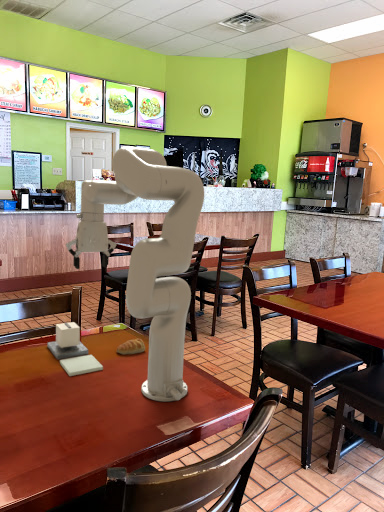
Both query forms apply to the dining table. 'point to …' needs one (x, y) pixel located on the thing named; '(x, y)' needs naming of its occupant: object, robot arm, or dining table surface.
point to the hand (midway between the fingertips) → (91, 267)
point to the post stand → (67, 350)
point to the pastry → (131, 347)
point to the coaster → (81, 365)
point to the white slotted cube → (67, 334)
